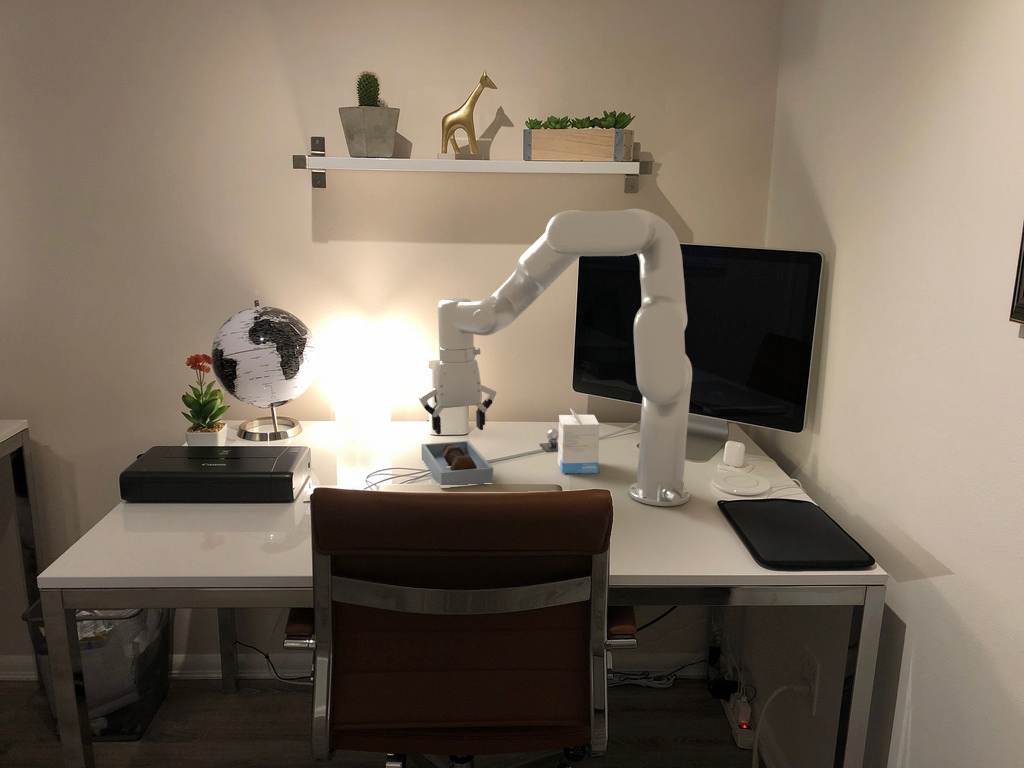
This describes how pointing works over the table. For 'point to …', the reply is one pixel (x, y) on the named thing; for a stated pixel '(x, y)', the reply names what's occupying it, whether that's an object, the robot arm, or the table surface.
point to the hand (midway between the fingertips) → (459, 430)
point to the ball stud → (551, 441)
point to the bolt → (457, 458)
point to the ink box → (578, 443)
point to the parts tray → (445, 476)
